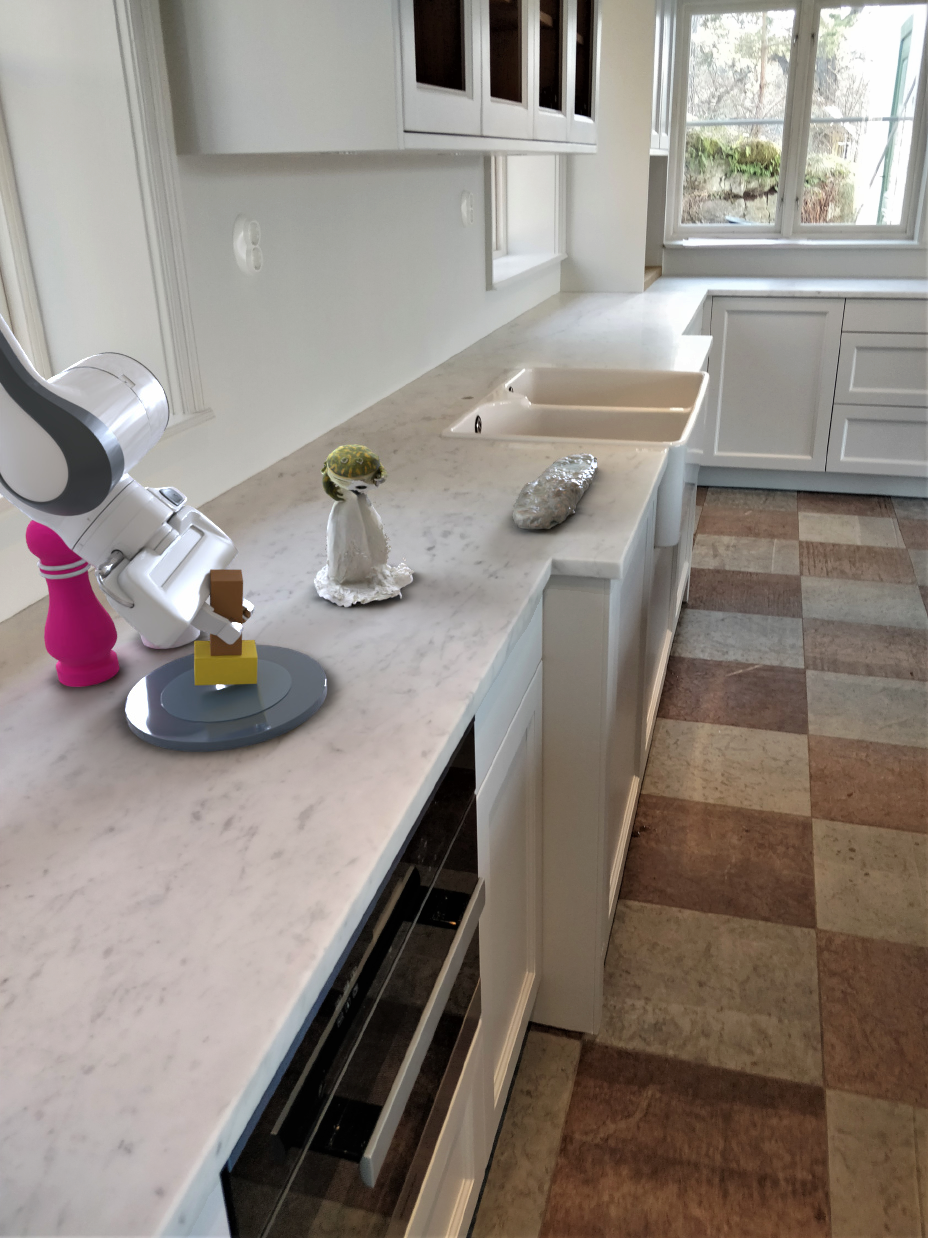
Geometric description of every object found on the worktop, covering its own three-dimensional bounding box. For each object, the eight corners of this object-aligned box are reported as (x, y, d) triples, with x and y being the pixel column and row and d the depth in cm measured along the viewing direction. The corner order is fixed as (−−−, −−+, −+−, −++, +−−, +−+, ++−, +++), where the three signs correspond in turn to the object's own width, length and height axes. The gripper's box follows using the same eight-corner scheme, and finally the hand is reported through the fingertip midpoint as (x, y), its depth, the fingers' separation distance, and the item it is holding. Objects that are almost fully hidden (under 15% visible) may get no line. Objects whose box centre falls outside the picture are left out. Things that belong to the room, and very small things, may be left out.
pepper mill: (93, 653, 108) (55, 482, 100) (138, 667, 105) (102, 491, 96) (39, 681, 103) (-7, 503, 94) (85, 696, 99) (41, 512, 91)
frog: (300, 605, 118) (282, 460, 110) (334, 565, 130) (320, 432, 122) (393, 610, 116) (382, 462, 108) (419, 569, 127) (411, 433, 119)
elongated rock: (610, 476, 166) (554, 476, 169) (610, 446, 164) (553, 446, 168) (567, 534, 136) (499, 533, 139) (565, 498, 134) (497, 497, 137)
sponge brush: (194, 685, 95) (194, 583, 90) (194, 666, 98) (194, 567, 94) (256, 684, 96) (259, 583, 92) (254, 665, 100) (256, 567, 95)
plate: (155, 777, 85) (153, 765, 85) (107, 686, 101) (104, 675, 101) (359, 712, 94) (358, 701, 94) (285, 638, 110) (284, 628, 110)
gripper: (108, 552, 81) (237, 653, 85) (180, 481, 100) (284, 567, 103) (67, 601, 83) (195, 698, 87) (145, 523, 102) (248, 606, 105)
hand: (244, 626), depth 95 cm, fingers closed on sponge brush, 3 cm apart
